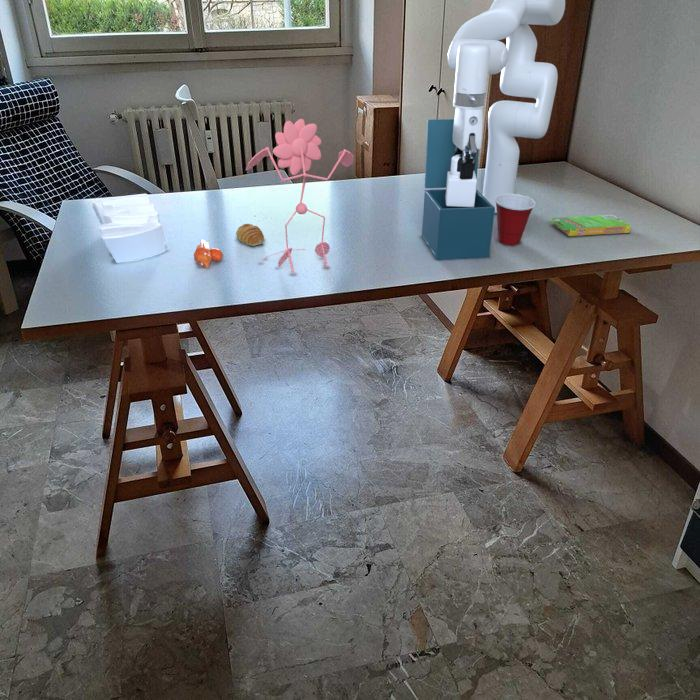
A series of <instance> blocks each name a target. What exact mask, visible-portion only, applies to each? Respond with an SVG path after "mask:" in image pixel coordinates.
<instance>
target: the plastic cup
mask: <svg viewBox="0 0 700 700" xmlns="http://www.w3.org/2000/svg"><path fill="white" fill-rule="evenodd" d="M527 196H528V195H523V194H521V195H519V193H515V194H510V193H508V194H500V195H497V196H496V197H495V203H496V209H497V213H496V227H497V228H496V229H497V240H498V243H500V244H502V245H504V246H509V247H510V246H512V247H513V246H517V245H519V244H520V243H521V241H522V237H523V234H524V232H525V230H526V226H527V223H528V221H529V217H530V215H531V213H532V211H533V209H534V208H535V207H536V205H537V204H536V201H535V200H534V199H532V197H529V196H528V197H527Z"/></svg>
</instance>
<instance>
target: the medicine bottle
mask: <svg viewBox="0 0 700 700" xmlns="http://www.w3.org/2000/svg"><path fill="white" fill-rule="evenodd" d="M466 156H467V155H466ZM461 163H463V160H462V154H459V155H455V156H453V157H452V158H451V170H450V171H448V173H447V183H446V188H445V189H446V195H445V199H446V206H451V207H474V204H475V194H476V189H477V185H478V184H477V183H478V180H477V179H478V178H477V179H476V174H475V163H476V159H475V162H474V170H473V178H472V179H460V168H461Z"/></svg>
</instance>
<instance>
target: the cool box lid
mask: <svg viewBox="0 0 700 700" xmlns="http://www.w3.org/2000/svg"><path fill="white" fill-rule="evenodd" d="M426 122H427V123H426V144H425V145H426V147H425V166H424V167H425V169H424V170H425V171H424V189H446V183H447V173H448V171H450V170H451V158H452V157H453V155H454V147H455V146H454V143H453V125H454V118H446V119H445V118H443V119H442V118H441V119H439V118H438V119H427V120H426ZM466 150H470V148H466ZM479 153H480V150H479V151H477V153H476V155H475V159H476V163H475V174H476V179H478V166H479ZM467 154H469V153H466V155H467Z"/></svg>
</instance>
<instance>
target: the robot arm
mask: <svg viewBox="0 0 700 700" xmlns="http://www.w3.org/2000/svg"><path fill="white" fill-rule="evenodd" d="M565 10H566V0H493V2H492V3H491V6H490V7H489V9H488V10H485V11H483V12H481V13H480V14H478V15H476V16H474V17H472V18H471V19H469V20H467V21H466V22H464V23H463V24H462V25H461V26H460V27H459V29H457V31H456V33H455V35H454V37H453V38H452V40H451V42H450V45H449V48H448V51H447V64H448V66H449V68H450V69H451V70H453V71H454V72H455V77H454V88H453V89H454V90H453V100H452V101H453V102H452V107H453V108H455V111H454V116H453V119H454V125H453V143H454V146H455V147H454V155H453V156H455V155H459V154H462V160H463V163H461V168H460V179H472V178H473V170H474V162H475V155H476V153H477V151H479V152H480V151H481V150H482V141H483V127H484V125H483V124H484V113H483V112H484V111H483V109H484V108H485V105H486V97H487V88H488V80H489V79H488V78H489V77H488V76H489V75H497V74H499V73H500V79H499V89H500V92H501V93H502V94H504V95H506V96H511V97H516V98H517V97H519V98H529V99H535V101H536V102H525V101H517V100H498V101H495V102H494V103H492V105H491V106H490V107H489V110H488V113H487V129H488V133H487V135H488V136H487V137H488V139H487V151H486V160H485V170H484V178H483V187H482V195H483V196H484V197H485V198H486V199H487V200H488V201H489V202H490V203H491V204H492V205H493V206H494V207H495V212H494V214H497V209H496V203H495V197H496V196H497V195H500V194H508V193H510V194H516V192H515V189H516V183H517V175H518V168H519V160H520V155H521V154H520V153H521V152H520V147H519V144H518V142H517V140H516V137H518V138H525V139H536V140H537V139H541V138H543V137H545V135H546V134H547V132H548V130H549V129H548V128H549V125H550V121H551V116H552V111H553V105H554V101H555V97H556V91H557V86H558V79H559V76H558V75H559V74H558V68H557V67H556V66H555V65H554V64H553V63H550V62H542V61H535V60H536V53H537V49H538V40H537V37H536V35H535V33H534V31H533V30H532V28H531V26H530V25H534V26H536V25H537V26H555V25H557V24H559V23H560V21H561V20H562V19H563V17H564V14H565ZM504 39H505V40H506V44H505V43H504V42H502V40H504ZM466 148H470V150H466ZM466 153H469V154H467V156H466ZM518 194H519V193H518ZM519 195H522V194H521V193H520V194H519ZM526 196H527V197H529V195H526Z"/></svg>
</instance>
